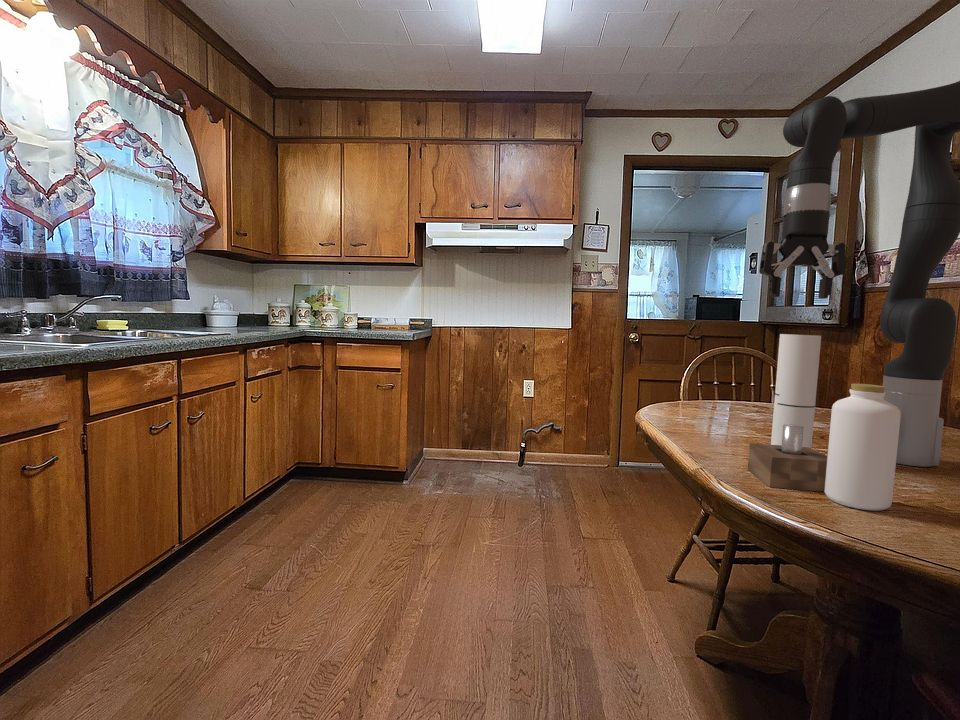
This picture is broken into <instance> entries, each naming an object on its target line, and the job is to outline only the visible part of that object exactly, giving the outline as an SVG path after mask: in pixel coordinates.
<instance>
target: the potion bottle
mask: <svg viewBox="0 0 960 720" xmlns="http://www.w3.org/2000/svg"><path fill="white" fill-rule="evenodd" d="M850 385H851V388H849V394H850V396H848V397H845V398H841V399H838V400H837V401H835V402H834V403H833V404H832V406H831V413H830V414H831V415H830V416H831V417H830V423H829V424H830V425H829V426H830V427H829V437H828V447H827V456H828V457H827V468H826V480H825V491H824V494H825V496H827V498H828V499H829V500H831V501H832V502H834V503H836V504H839V505H842V506H845V507H849V508H852V509H857V510H864V511H874V512H875V511H878V512H879V511H884V510H887V509H889V508H890V507H891V506H892V505H893V504H892V503H893V497H894V495H893V494H894V487H895V477H896V476H895V475H896V467H897V463H896V457H897V447H898V437H899V428H900V418H901V413H900V410H899V409H898V407H896V406H895V405H893V404H891V403H889V402H887V401H885V400H884V396H885V394H886V392H884V389H885V387H884V386H883V385H878V384H869V383H851V384H850Z"/></svg>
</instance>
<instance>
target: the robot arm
mask: <svg viewBox="0 0 960 720" xmlns="http://www.w3.org/2000/svg"><path fill="white" fill-rule="evenodd" d="M913 127H915V132H914V133H915V134H914V151H913V161H912V162H913V163H912V170H911V177H910V183H909V188H908V189H909V190H908V193H907V194H908V195H907V199H906V203H905V207H904V213H903V220H902V223H901V232H900V238H899V244H898V248H897V253H896V258H895V263H894V268H893V271H892V275H891V280H890V283H889V286H888V289H887V292H886V295H885V298H884V302H883V305H882V308H881V312H880V317H879V318H880V319H879V326H880V331H881V333H882V335H883V336H884V337H885V338H886V339H887V340H888V341H890V342H892V343H896V344H904V345H903V349H902V352H901V353H900V354H899V356H897V357H895V358H894V359H892V360H889V361H887V362H886V363H885V365H884V367H883V368H884V370H883V379H882V380H883V381H882V386H884V387H885V389H884V392H886V394H885V396H884V400H885V401H887V402H889V403H891V404H893V405H895V406H896V407H898V409H899V410H900V413H901V418H900V428H899V437H898V447H897V457H896V464H898V465H905V466H911V467H912V466H913V467H940V459H941V450H942V443H943V442H942V441H943V433H944V432H943V431H944V423H945V422H944V421H945V420H944V418H942V417H940V410H941V409H940V408H941V400H942V399H941V398H942V388H943V379H944V373H945V371H946V370H947V368H948V367H949V365H950V362H951V357H952V351H953V346H954V342H955V335H956V329H957V316H956V312H955V309H954V307H953V306H952V304H950V302H949V301H947V300H945V299H943V298H939V297H926V295H927V292H928V288H929V283H930V279H931V277H932V275H933V273H934V272H935V270H936V269H937V267H938V266H939V264H940V263H941V261H942V260H943V259H944V258H945V256H946V255H947V254H948V252H949V251H950V250H951V249H952V247H953V246H954V245H955V243H956V241H957V239H958V238H959V236H960V179H959V178H958V177H957V175H956V173H955V172H954V170H953V168H952V165H951V159H950V157H951V156H950V155H951V147H952V142H953V138H954V135H955V134H956V133H960V80H959V81H956V82H952V83H949V84H945V85H941V86H936V87H932V88H927V89H921V90H920V89H919V90H915V91H907V92H900V93H892V94H885V95H883V94H882V95H874V96H873V95H872V96H865V97H856V98H852V99H848V100H846V101H842V100H841V99H840V98H838V97H837V96H833V95H828V96H823V97H820V98H819V99H816V100H814V101H812V102H811V103H809V104H807V105H804V107H801V108H799V109H797V110H796V111H794V112H793V113H792V114H790V115H789V116H788V118H787V119H786V121H785V122H784V125H783V128H782V133H783V134H782V135H783V138H784V140H785V141H786V142H787V143H788V144H789V145H791V146H793V147H796V148H803V149H802V150H801V152H800V153H799V154H798V155H797V156H795V157H794V158H793V159H792V160H791V161H790V163H789V167H788V171H787V173H788V174H787V185H786V193H785V197H784V204H783V216H782V226H781V227H782V229H781V239H780V243H777V242H773V241H768V242H766V243H764V244H763V245H762V247H761V248H762V249H761V257H760V262H759V263H760V264H759V270H758V272H759V274H761V275H765V276H767V277H768V278H769V282H768V294H769V295H770V297H771V298H780V295H781V285H782V277H780V276H781V275H782V274H783V272H784V271H785V270H786V269H787V268H788V267H797V266H801V267H812V269H813V270H815V271H816V272H817V273H818V275H819V276H820V278H821V279H819V285H818V286H819V287H818V288H819V289H818V296H817V297H818V299H824V300H826V299H828V297H829V296H830V295H831V294H832V291H833V290H832V288H833V280H834V278H835V277H838V276H842V275H845V273H846V245H847V244H846V243H845V242H840V243H835V244H833V243H832V244H831V243H830V244H829V243H828V235H829V225H830V213H831V208H832V205H831V202H832V194H831V193H832V192H831V186H832V185H831V184H832V173H833V172H832V171H833V162H834V160H835V158H836V156H837V152H838V150H839V148H840V145H841V142H842V140H846V139H857V138H864V137H866V138H868V137H873V136H879V135H880V136H881V135H885V134H889V133H893V132H898V131H900V130H905V129H908V128H909V129H910V128H913ZM777 251H779V252H780V255H781V258H780V259H779V260H778V262H777V263H776V264H775V265H774V267H773V268H772V265H773V263H772V262H773V257H774V255H775V254H776V253H777ZM827 252H828V254H829V256H831V267H830V264H829V261H828V260H827V259H826V258H825V254H826V253H827Z"/></svg>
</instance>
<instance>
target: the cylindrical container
mask: <svg viewBox="0 0 960 720" xmlns="http://www.w3.org/2000/svg"><path fill="white" fill-rule="evenodd" d="M821 343H822V335H816V334H815V335H814V334H811V335H809V334H790V333H789V334H787V333H779V342H778V353H777V365H776V366H777V367H776V378H775V379H776V380H775V390H774V403H773V413H772V414H773V415H772V426H771V436H770V437H771V439H770V445H782V434H783V425H784V424H792V425H799V426H803V427H804V430H803V441H802V447H809V448H811V449H812V447H813V446H812V445H813V433H814V432H813V431H814V422H815V410H816V408H815V407H816V402H817V401H816V399H817V389H818V378H819V366H820V354H821Z"/></svg>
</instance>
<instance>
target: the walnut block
mask: <svg viewBox="0 0 960 720" xmlns="http://www.w3.org/2000/svg"><path fill="white" fill-rule="evenodd" d="M748 445H749V447H748V460H747V471H748V472H749V473H751V474H752V475H753V476H754V475H755V476H754V477H756V478H757V479H758V480H760V481H761V482H763V484H765V485H766V486H768V487H769V488H776V489H777V488H779V489H790V490H799V491H800V490H801V491H802V490H803V491H813V492H814V491H815V492H825V480H826V468H827V457H828V455H825V454H823V453H822V452H819V451H817V450H815V449H813V448H812V447H811V448H809V447H802V453H801V455H791V454H783V453H781V446H782V445H771V444H768V443H767V444H766V443H765V444H763V443H753V442H749V444H748Z"/></svg>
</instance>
